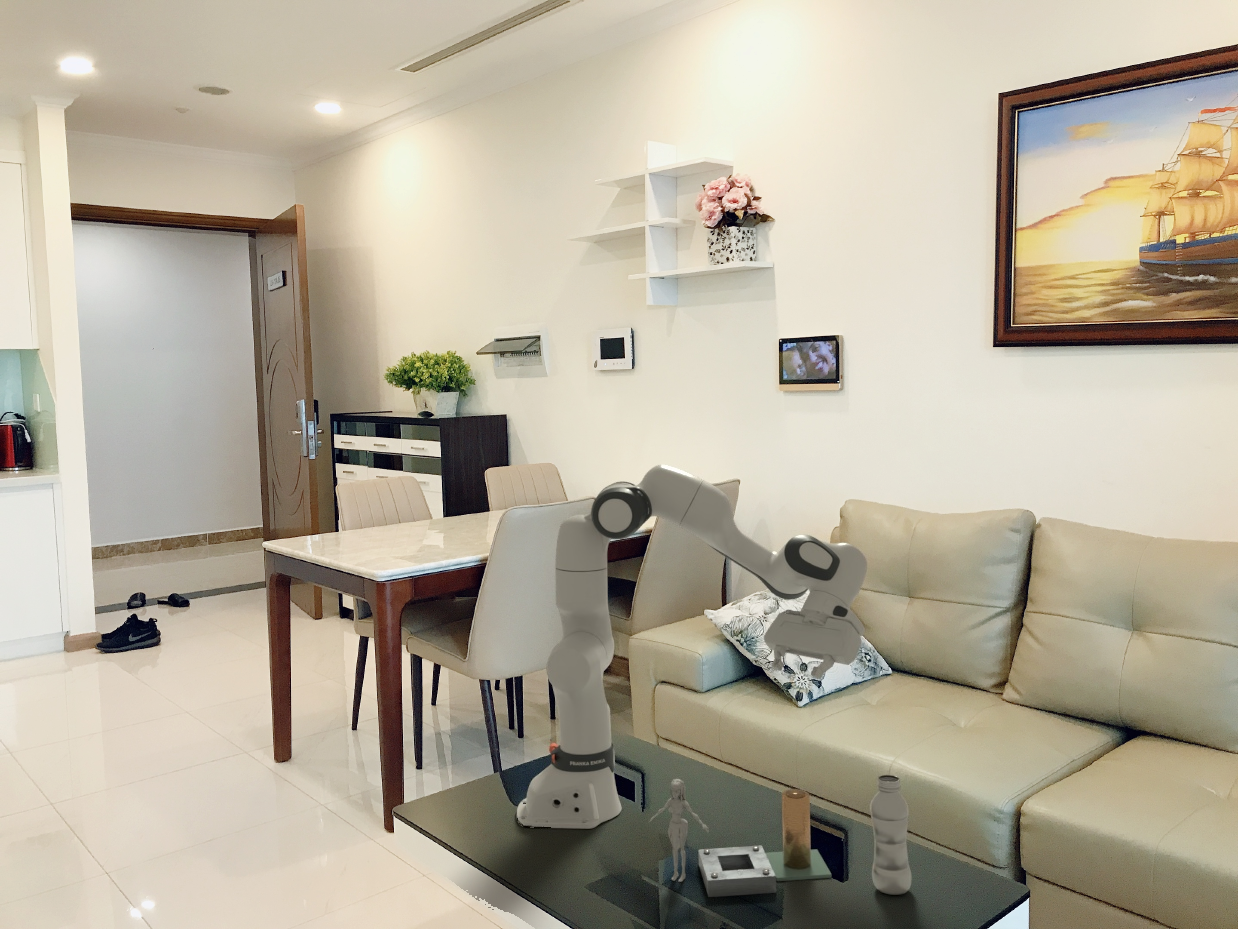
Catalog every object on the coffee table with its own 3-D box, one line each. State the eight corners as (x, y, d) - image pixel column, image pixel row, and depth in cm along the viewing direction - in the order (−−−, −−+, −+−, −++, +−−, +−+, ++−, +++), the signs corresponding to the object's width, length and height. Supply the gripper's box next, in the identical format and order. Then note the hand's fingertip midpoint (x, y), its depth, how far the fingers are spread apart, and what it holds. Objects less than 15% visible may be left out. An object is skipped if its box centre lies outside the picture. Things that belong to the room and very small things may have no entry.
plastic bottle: (913, 901, 165) (911, 786, 164) (872, 898, 166) (869, 784, 165) (910, 882, 171) (907, 772, 170) (870, 880, 172) (867, 770, 171)
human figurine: (646, 875, 178) (642, 779, 177) (654, 866, 181) (651, 772, 180) (707, 887, 172) (703, 789, 171) (714, 878, 176) (711, 781, 175)
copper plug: (786, 870, 176) (785, 799, 175) (780, 857, 181) (779, 788, 180) (813, 868, 176) (812, 797, 176) (807, 856, 181) (805, 787, 180)
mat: (776, 881, 173) (776, 878, 173) (765, 855, 183) (765, 852, 183) (831, 877, 174) (831, 874, 174) (817, 852, 184) (817, 849, 184)
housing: (708, 897, 169) (707, 878, 169) (698, 865, 181) (698, 847, 181) (776, 892, 169) (775, 873, 169) (762, 861, 181) (761, 843, 181)
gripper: (775, 600, 202) (746, 655, 196) (859, 612, 187) (831, 673, 181) (788, 617, 205) (760, 672, 199) (872, 631, 190) (845, 691, 184)
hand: (795, 672), depth 190 cm, fingers open, 8 cm apart
